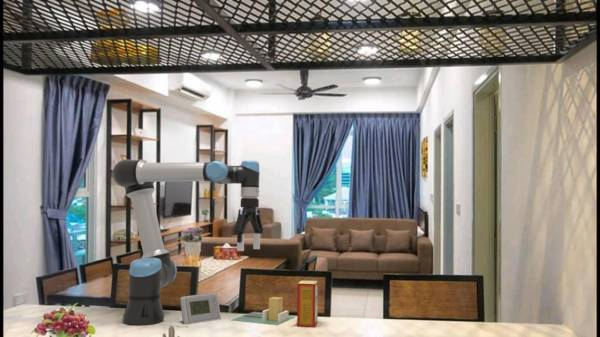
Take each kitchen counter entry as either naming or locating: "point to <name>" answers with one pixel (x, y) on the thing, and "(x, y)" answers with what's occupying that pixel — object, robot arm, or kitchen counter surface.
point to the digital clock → (200, 308)
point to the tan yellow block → (275, 307)
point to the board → (264, 318)
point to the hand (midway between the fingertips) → (248, 250)
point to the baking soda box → (307, 303)
